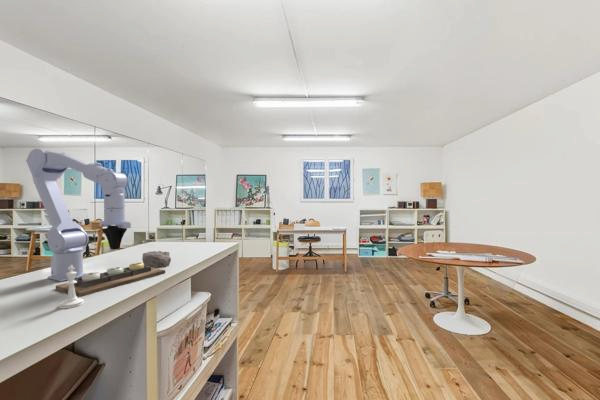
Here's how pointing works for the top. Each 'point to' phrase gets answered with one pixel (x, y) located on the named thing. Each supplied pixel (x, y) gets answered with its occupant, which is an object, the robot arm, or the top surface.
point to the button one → (90, 276)
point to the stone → (156, 259)
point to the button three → (136, 266)
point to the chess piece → (71, 292)
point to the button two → (115, 270)
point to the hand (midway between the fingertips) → (114, 249)
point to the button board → (110, 280)
